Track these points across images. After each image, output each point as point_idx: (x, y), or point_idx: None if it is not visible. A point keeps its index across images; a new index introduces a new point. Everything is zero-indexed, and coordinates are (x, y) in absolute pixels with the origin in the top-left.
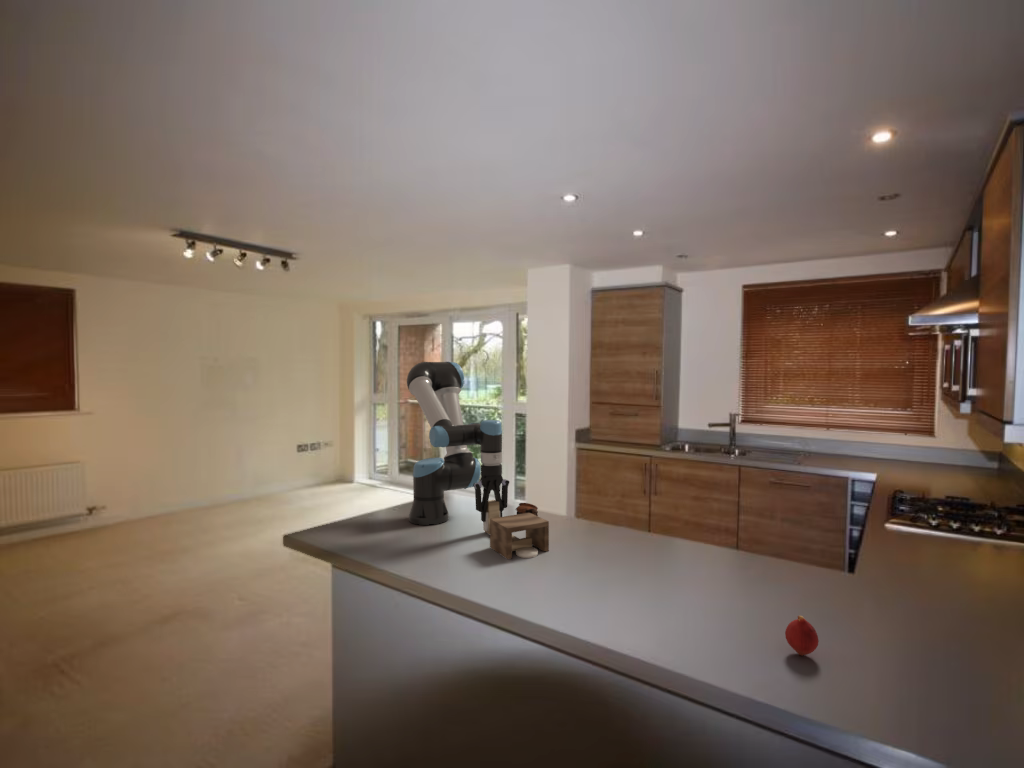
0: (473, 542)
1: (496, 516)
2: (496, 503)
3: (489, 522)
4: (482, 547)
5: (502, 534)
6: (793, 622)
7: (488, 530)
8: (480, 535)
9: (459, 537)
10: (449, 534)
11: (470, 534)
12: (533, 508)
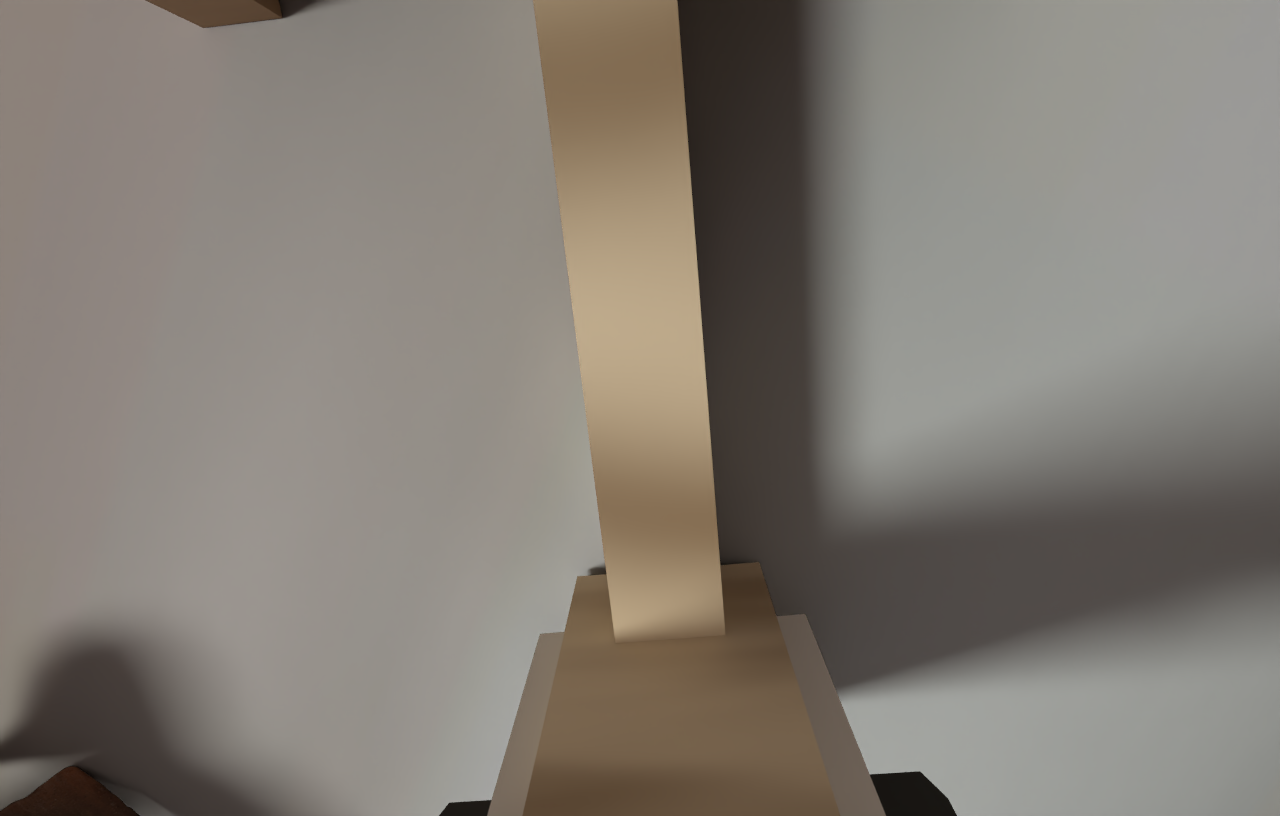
0: (1151, 336)
1: (610, 811)
2: None
3: (798, 702)
4: (1156, 4)
5: None
6: None
7: None
8: (885, 603)
9: (1213, 642)
10: (1265, 808)
11: (998, 699)
12: None
